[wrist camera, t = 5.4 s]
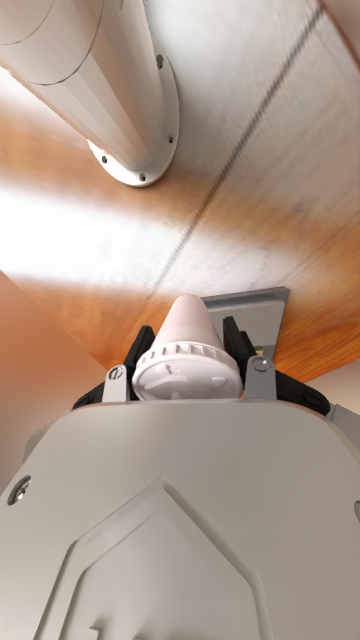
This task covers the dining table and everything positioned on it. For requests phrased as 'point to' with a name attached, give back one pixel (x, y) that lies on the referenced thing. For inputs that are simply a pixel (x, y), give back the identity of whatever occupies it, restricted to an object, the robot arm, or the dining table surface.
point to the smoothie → (187, 359)
